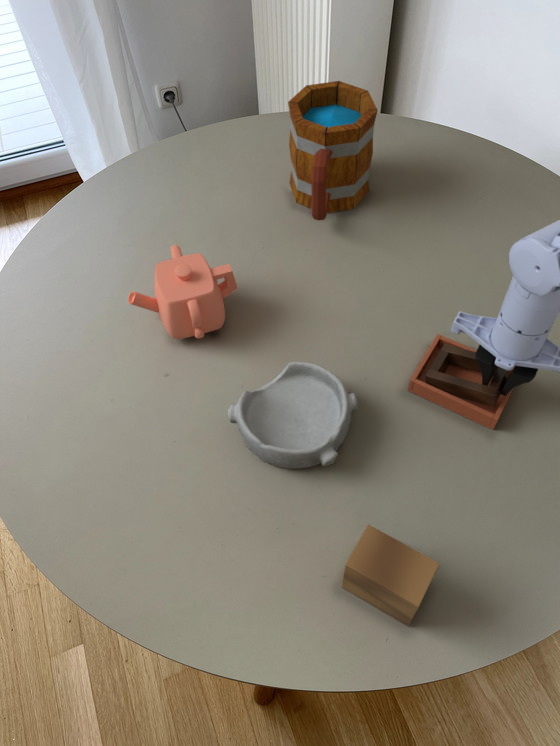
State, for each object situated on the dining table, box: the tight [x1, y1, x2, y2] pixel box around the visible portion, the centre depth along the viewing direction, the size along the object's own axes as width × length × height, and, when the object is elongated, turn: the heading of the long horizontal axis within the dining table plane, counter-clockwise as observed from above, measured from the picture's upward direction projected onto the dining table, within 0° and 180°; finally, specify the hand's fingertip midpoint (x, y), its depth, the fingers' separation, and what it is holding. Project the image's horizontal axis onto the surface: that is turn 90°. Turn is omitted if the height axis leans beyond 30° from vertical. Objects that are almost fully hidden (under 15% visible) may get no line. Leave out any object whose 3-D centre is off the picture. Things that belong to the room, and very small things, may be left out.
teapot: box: [127, 244, 239, 340], centre depth 90 cm, size 12×12×10 cm
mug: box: [287, 80, 378, 221], centre depth 102 cm, size 20×14×15 cm
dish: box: [227, 361, 358, 469], centre depth 81 cm, size 14×14×5 cm
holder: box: [407, 333, 515, 431], centre depth 85 cm, size 12×9×2 cm
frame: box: [425, 344, 511, 407], centre depth 83 cm, size 9×6×2 cm, turn 59°
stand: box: [341, 524, 440, 627], centre depth 68 cm, size 8×5×8 cm, turn 59°
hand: (496, 385), depth 82 cm, fingers closed
